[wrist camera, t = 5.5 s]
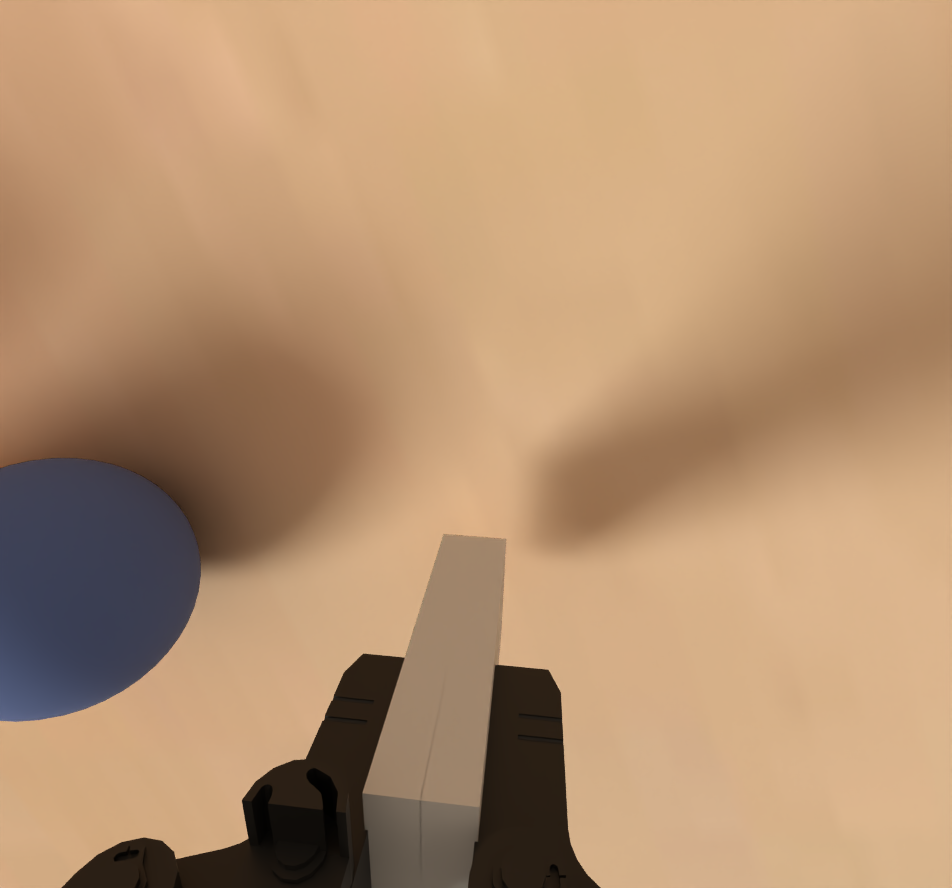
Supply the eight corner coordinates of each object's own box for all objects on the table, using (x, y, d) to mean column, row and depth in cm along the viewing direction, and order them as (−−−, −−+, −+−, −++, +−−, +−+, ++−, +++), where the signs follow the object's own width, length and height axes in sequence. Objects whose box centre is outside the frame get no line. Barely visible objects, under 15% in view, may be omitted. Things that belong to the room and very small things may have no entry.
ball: (-149, 473, 13) (140, 402, 16) (-27, 664, 15) (202, 570, 18) (-251, 608, 8) (180, 471, 11) (-54, 846, 11) (255, 682, 14)
